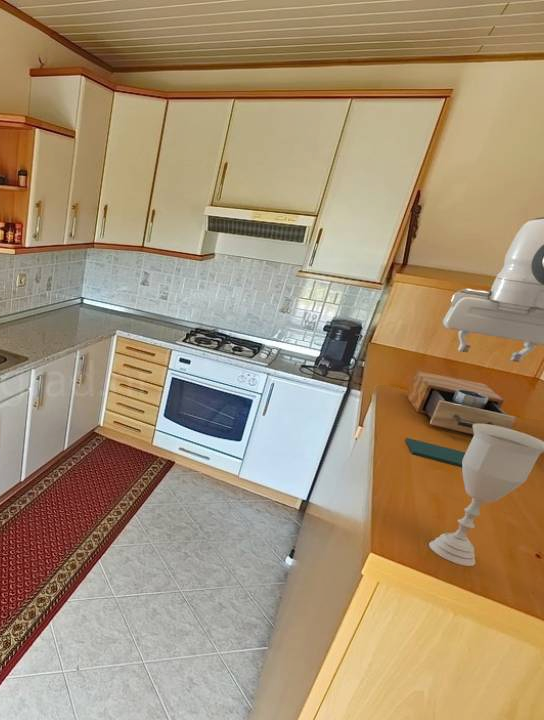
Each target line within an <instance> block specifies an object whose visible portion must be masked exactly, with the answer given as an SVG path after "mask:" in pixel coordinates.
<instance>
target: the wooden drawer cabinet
mask: <svg viewBox="0 0 544 720" xmlns="http://www.w3.org/2000/svg"><path fill="white" fill-rule="evenodd" d="M431 388H433V389H437V390H442V391H447V392H452V393H455V392H456V390H459V389H462V390H469V391H473V392H477V393H480V394H483V395H485V396H487V397H488V398H489V399H488V400H489V401H493V402H494V403H495V404H497V405H498V406H499V407H500V408H501V409H502V406H503V404H504V401H505V399H504V398H502V397H501V396H500V395H499V394H498V393H496V392H495V391H494V390H493V389H492V388H490V387H489V386H487V384H485V383H481V382H476V381H471V380H465V379H460V378H455V377H451V376H446V375H440V374H435V373H430V372H426V371H422V370H421V371H420V370H417V371H416V373H415V375H414V378H413V381H412V383H411V386H410V388H409V390H408V394H407V395H406V397H407V398H408V400H409V402H410V403H411V405H412V407H413V408H414V410H415V411H416V413H417V414H422V415H427V416H429V415H428V413H427V412H426V410H425V409H424V404H425V402H426V399H427V397H428V395H429V392H430V390H431Z"/></svg>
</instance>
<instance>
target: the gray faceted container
mask: <svg viewBox="0 0 544 720" xmlns="http://www.w3.org/2000/svg"><path fill="white" fill-rule="evenodd" d="M488 399H489V398H488V397H487V396H485V395H483V394H480V393H477V392H473V391H469V390H462V389H459V390H456V392H455V395H454V397H453V399H452V401H451V403H455V404H460V405H465V406H469V407H474V408H478V409H484V407H485V405H486V403H487V401H488Z"/></svg>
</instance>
